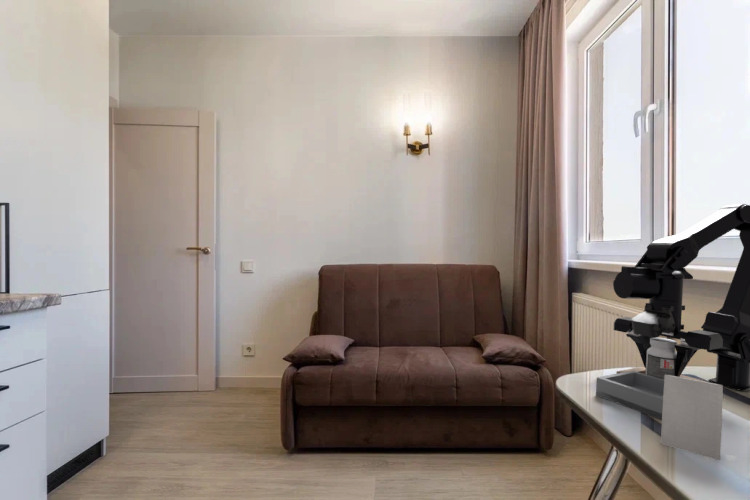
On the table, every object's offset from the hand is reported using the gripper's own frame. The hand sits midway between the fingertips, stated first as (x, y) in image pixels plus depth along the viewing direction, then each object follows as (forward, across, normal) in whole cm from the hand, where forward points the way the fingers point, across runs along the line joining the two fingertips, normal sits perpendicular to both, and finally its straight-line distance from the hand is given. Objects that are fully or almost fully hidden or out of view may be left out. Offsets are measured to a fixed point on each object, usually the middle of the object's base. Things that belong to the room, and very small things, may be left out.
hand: (661, 371), depth 87 cm
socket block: (+3, 0, 0) cm, 3 cm away
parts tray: (+3, +4, -13) cm, 14 cm away
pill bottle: (+3, 0, 0) cm, 3 cm away
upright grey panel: (+3, +17, -26) cm, 31 cm away
